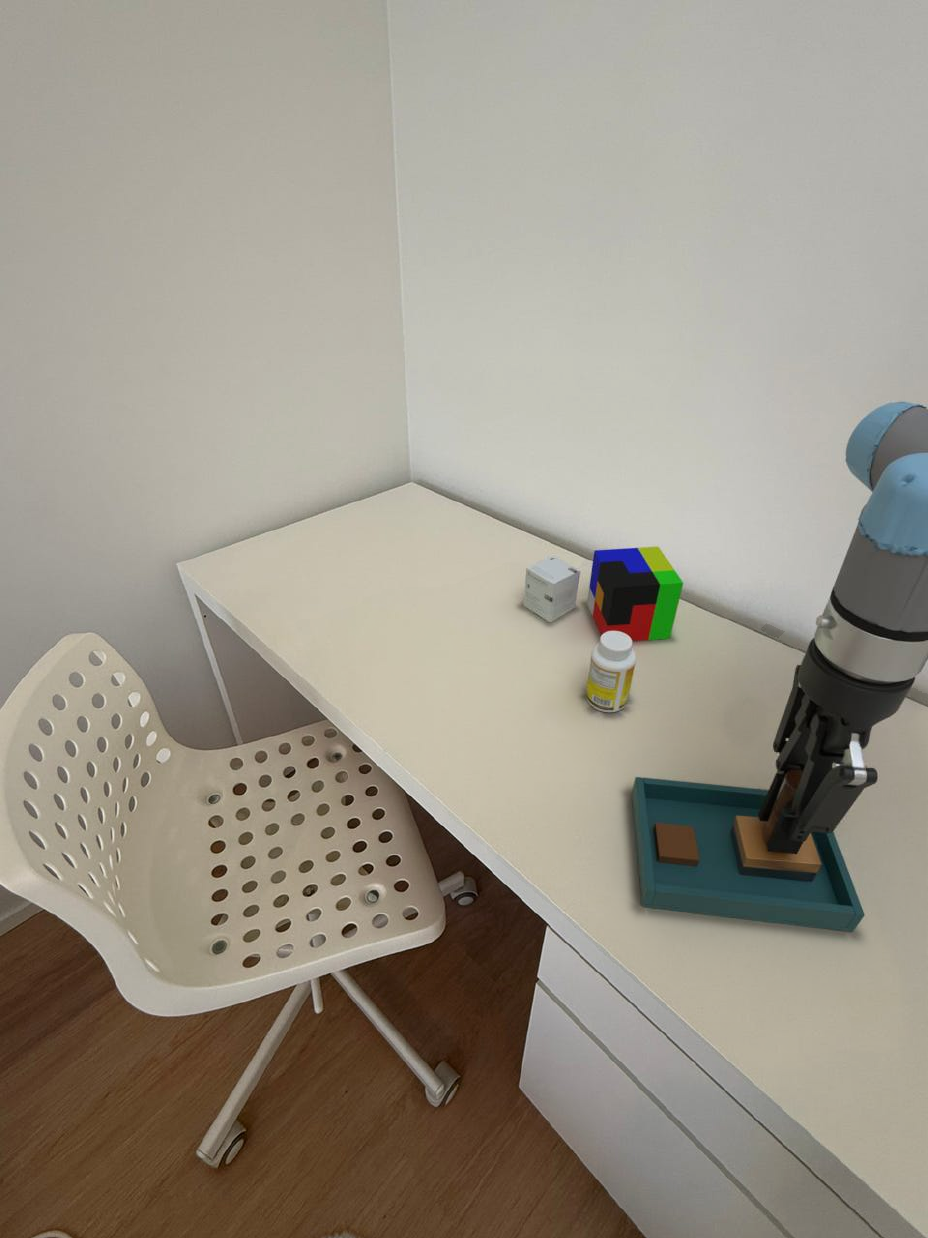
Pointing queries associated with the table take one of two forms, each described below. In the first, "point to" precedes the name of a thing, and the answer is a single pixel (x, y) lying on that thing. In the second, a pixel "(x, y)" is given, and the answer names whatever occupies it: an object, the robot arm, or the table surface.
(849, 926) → the tray
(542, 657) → the table surface
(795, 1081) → the table surface
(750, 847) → the wooden rubber stamp
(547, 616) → the white cardboard box
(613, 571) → the puzzle toy
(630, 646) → the supplement bottle
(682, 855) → the brown square tile
